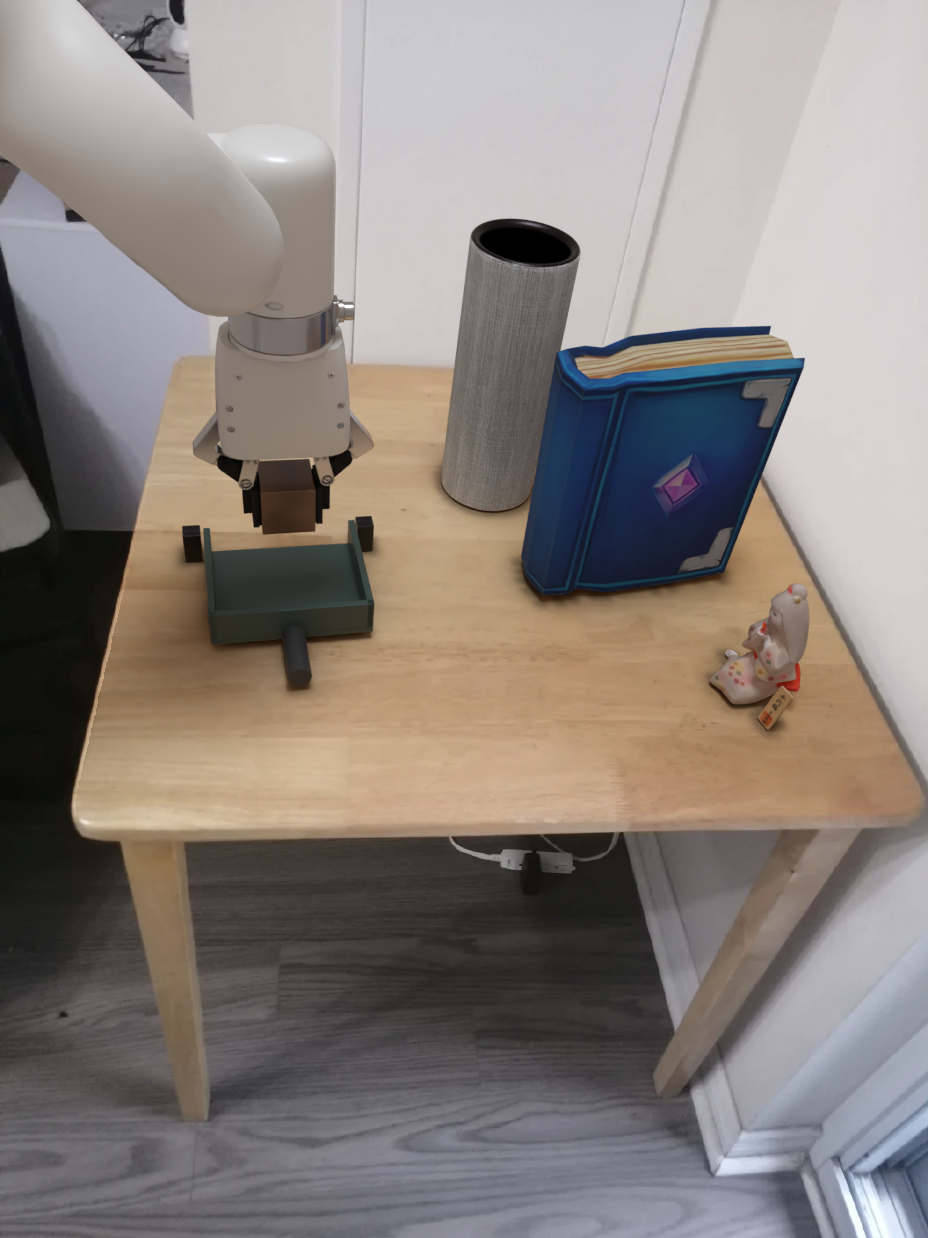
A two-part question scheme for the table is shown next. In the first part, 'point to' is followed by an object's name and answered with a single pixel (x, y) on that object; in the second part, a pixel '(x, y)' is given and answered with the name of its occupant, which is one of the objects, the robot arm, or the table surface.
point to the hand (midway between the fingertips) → (286, 513)
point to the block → (286, 496)
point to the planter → (506, 359)
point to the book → (653, 456)
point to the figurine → (769, 657)
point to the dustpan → (288, 596)
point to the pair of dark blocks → (194, 543)
